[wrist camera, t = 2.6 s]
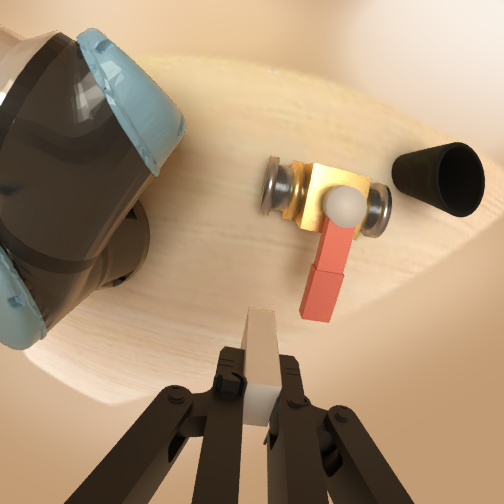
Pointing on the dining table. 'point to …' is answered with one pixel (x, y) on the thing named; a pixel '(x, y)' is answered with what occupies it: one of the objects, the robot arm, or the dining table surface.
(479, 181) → the cup
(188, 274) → the dining table surface
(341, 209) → the lever
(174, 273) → the dining table surface
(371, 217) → the valve body
